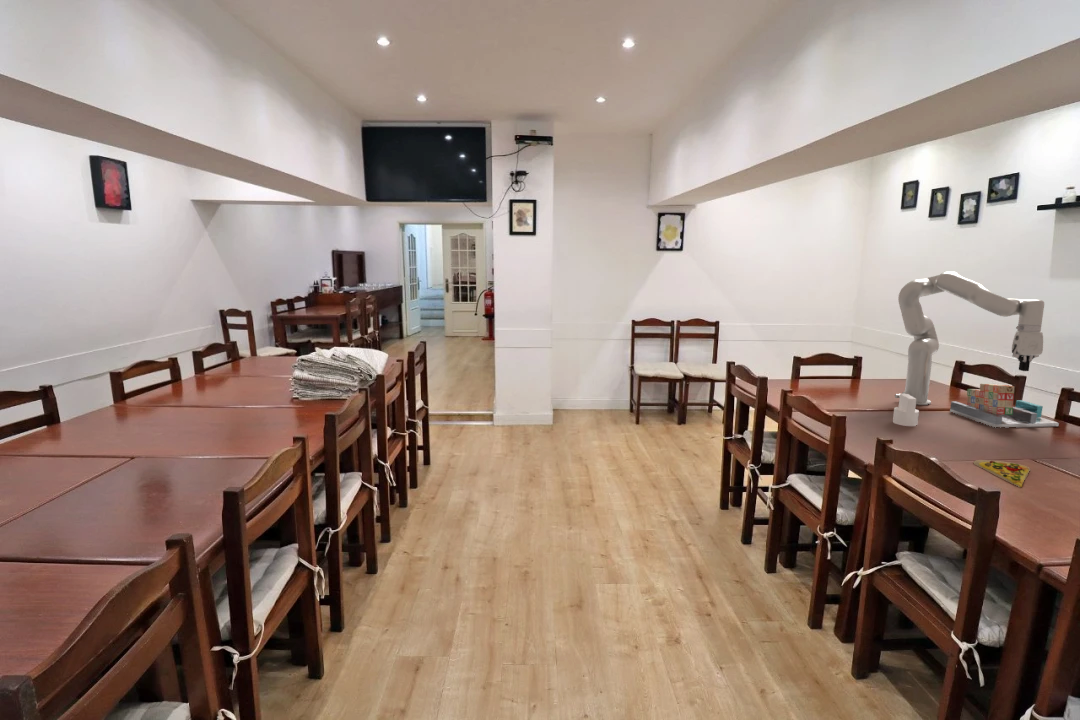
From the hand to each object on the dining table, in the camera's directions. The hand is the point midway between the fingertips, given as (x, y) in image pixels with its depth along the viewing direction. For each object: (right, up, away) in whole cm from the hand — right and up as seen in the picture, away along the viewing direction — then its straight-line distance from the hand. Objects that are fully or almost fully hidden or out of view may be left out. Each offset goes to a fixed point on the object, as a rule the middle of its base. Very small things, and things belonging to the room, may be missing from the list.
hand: (1023, 370), depth 239 cm
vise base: (-6, -21, +4) cm, 23 cm away
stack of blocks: (-13, -18, +3) cm, 23 cm away
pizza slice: (-55, -35, -57) cm, 87 cm away
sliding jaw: (+1, -20, +4) cm, 20 cm away
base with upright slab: (-52, -23, -1) cm, 57 cm away
